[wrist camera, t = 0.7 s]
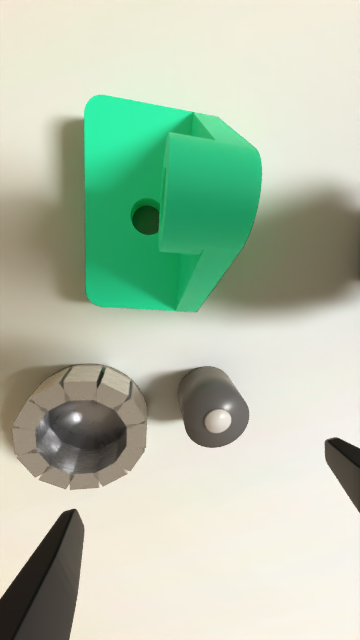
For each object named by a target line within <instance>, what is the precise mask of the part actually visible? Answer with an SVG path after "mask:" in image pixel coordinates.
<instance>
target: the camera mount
mask: <svg viewBox="0 0 360 640" xmlns="http://www.w3.org/2000/svg"><path fill="white" fill-rule="evenodd" d="M84 156H85V281H86V295H87V297H88V299H89V300H90V301H91V302H92V303H93V304H95V305H97V306H100V307H115V308H133V309H150V310H168V311H186V312H197V311H198V310H199V308H200V307H201V305H202V304H203V303H204V301H205V300H206V298H207V297H208V296H209V294H210V293H211V291H212V290H213V289H214V287H215V286H216V284H217V283H218V282H219V280H220V279H221V277H222V276H223V275H224V273H225V272H226V270H227V269H228V268H229V266H230V265H231V263H232V262H233V261H234V259H235V258H236V256H237V255H238V254H239V252H240V251H241V249H242V248H243V246H244V244H245V243H246V241H247V238H248V236H249V234H250V231H251V229H252V226H253V223H254V219H255V216H256V212H257V208H258V203H259V198H260V191H261V181H262V166H261V158H260V154H259V152H258V150H257V149H256V148H255V147H254V146H253V145H251V144H250V143H249V142H248V141H247V140H245V139H244V138H243V137H242V136H240V135H239V134H238V133H237V132H236V131H234V130H233V129H232V128H231V127H230V126H228V125H227V124H226V123H225V122H224V121H222V120H221V119H220V118H219V117H216V116H211V115H206V114H200V113H195V112H190V111H185V110H180V109H174V108H169V107H164V106H159V105H154V104H148V103H143V102H138V101H133V100H128V99H123V98H117V97H112V96H107V95H96V96H94V97H92V98H91V99H90V100H89V101H88V102H87V104H86V106H85V110H84ZM142 206H151V207H154V208H155V209H157V210H158V211H159V232H157V233H155V234H152V235H145V234H142V233H140V232H139V231H137V230H136V229H135V227H134V226H133V222H132V220H133V215H134V213H135V211H136V210H137V209H138V208H140V207H142Z"/></svg>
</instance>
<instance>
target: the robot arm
mask: <svg viewBox="0 0 360 640" xmlns="http://www.w3.org/2000/svg"><path fill="white" fill-rule="evenodd" d="M325 459H326V462H327V464H328V465H329V467H330V468H331V470H332V472H333V473H334V475H335V476H336V478H337V479H338V481H339V482H340V484H341V485H342V487H343V488H344V490H345V492H346V493H347V495H348V496H349V498H350V499H351V501H352V502H353V504H354V505H355V507H356V508H357V510H358V511H359V513H360V448H358V447H356V446H354V445H352V444H350V443H348V442H346V441H344V440H341V439H339V438H336V437H334V438H330V439H327V440H326V441H325ZM83 541H84V525H83V522H82V520H81V518H80V515H79V513H78V511H77V510H76V509H71V510H68V511H65V512H63V513H62V514H61V515H60V517H59V518H58V519H57V521H56V522H55V524H54V525H53V526H52V528H51V529H50V531H49V532H48V533H47V535H46V536H45V538H44V539H43V540H42V542H41V543H40V544H39V546H38V547H37V549H36V550H35V551H34V553H33V554H32V556H31V557H30V558H29V560H28V561H27V563H26V564H25V565H24V567H23V568H22V570H21V571H20V572H19V574H18V575H17V576H16V578H15V579H14V581H13V582H12V583H11V585H10V586H9V588H8V589H7V590H6V592H5V593H4V595H3V596H2V597H1V599H0V640H69V638H70V633H71V628H72V622H73V617H74V612H75V606H76V601H77V595H78V587H79V578H80V569H81V559H82V550H83Z"/></svg>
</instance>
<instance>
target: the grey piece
mask: <svg viewBox="0 0 360 640" xmlns="http://www.w3.org/2000/svg"><path fill="white" fill-rule="evenodd" d="M13 425H14V426H13V428H12V434H13V442H14V450H15V454H19V455H18V457H17V459H18V460H19V461H20V462H21V463H22V464H23V465H24V466H25V467H26V468H27V469H28V470H29V472H30V473H31V474H32V475H33V476H34V477H37V476H39V475H41V476H40V478H39V480H41V481H43V482H46V483H49V484H52V485H55V486H58V487H61V488H64V489H66V488H67V487H68V485H69V484H70V490H74V489H88V488H99V485H100V483H101V485H102V486H105V485H107V484H109V483H111V482H113V481H115V480H117V479H118V478H120V477H122V476H124V475H126V474H127V471H131V470H132V468H133V467H134V465H135V464H136V463H137V461H138V460H139V458H140V457H141V456H142V454H143V453H144V451H145V448H146V431H147V405H146V401H145V399H144V397H143V394H142V392H141V391H140V389H139V387H138V386H137V385H136V384H135V382H134V381H133V380H132V379H130V378H129V377H128V376H127V375H125V374H124V373H122V372H120V371H118V370H116V369H114V368H111V367H108V366H104V365H99V364H80V365H74V366H71V367H67V368H65V369H62V370H60V371H58V372H57V373H55V374H53V375H52V376H51V377H49V378H47V379H45V380H44V381H43V383H41V384H40V385H39V387H38V388H37V389H36V390H35V391H34V393H33V394H32V395H31V396H30V398H29V399H28V400H27V401H26V403H25V405H24V406H23V408H22V410H21V411H20V413H19V415H18V417H17V418H16V420H15V422H14V423H13Z"/></svg>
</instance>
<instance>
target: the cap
mask: <svg viewBox="0 0 360 640" xmlns="http://www.w3.org/2000/svg"><path fill="white" fill-rule="evenodd" d="M178 399H179V403H180V408H181V412H182V416H183V421H184V425H185V429H186V432H187V434H188V436H189V437H190V439H191V440H192V441H194V442H195V443H197V444H198V445H201V446H204V447H209V448H215V447H221V446H225V445H227V444H229V443H231V442H233V441H234V440H236V439H237V438H238V437H239V436H240V435H241V434H242V433H243V432H244V430H245V428H246V426H247V424H248V420H249V409H248V406H247V404H246V402H245V401H244V399H243V398H242V396H241V395H240V393H239V392H238V390H237V389H236V387H235V386H234V385H233V383H232V382H231V380H230V379H229V377H228V376H227V375H226V373H224V372H223V371H222V370H220V369H218V368H215V367H211V366H205V367H199V368H196V369H194V370H192V371H191V372H189V373H188V374H187V375H186V376H185V377H184V378H183V379H182V381H181V383H180V385H179V388H178Z"/></svg>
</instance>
